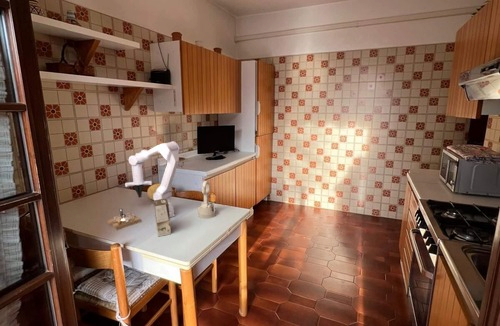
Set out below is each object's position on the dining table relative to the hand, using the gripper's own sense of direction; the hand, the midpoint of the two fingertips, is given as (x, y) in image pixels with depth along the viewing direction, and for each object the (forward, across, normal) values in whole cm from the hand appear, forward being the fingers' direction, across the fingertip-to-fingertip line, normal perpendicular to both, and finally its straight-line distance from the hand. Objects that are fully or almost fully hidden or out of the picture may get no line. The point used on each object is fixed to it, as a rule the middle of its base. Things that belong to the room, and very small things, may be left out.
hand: (140, 196), depth 159 cm
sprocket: (+8, +7, +14) cm, 17 cm away
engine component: (+10, -38, +15) cm, 42 cm away
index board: (+9, +7, +14) cm, 18 cm away
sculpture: (+10, -7, -22) cm, 25 cm away
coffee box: (+10, -15, +31) cm, 36 cm away
